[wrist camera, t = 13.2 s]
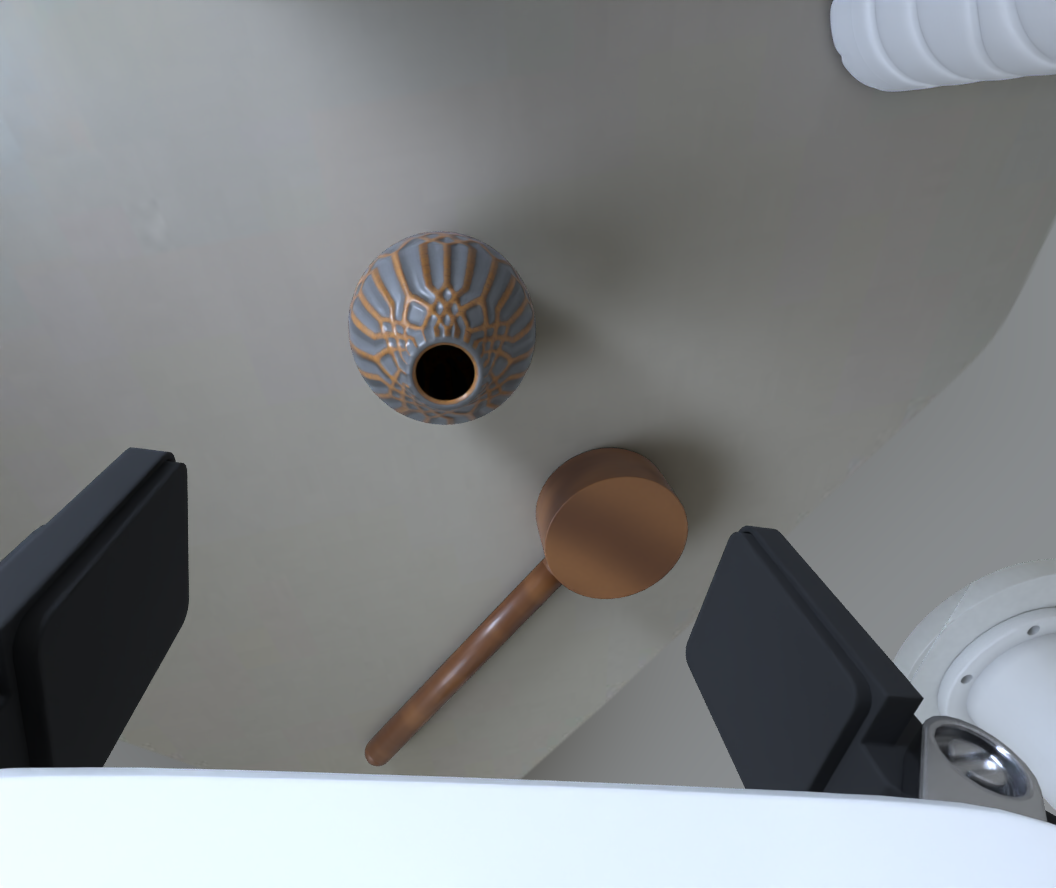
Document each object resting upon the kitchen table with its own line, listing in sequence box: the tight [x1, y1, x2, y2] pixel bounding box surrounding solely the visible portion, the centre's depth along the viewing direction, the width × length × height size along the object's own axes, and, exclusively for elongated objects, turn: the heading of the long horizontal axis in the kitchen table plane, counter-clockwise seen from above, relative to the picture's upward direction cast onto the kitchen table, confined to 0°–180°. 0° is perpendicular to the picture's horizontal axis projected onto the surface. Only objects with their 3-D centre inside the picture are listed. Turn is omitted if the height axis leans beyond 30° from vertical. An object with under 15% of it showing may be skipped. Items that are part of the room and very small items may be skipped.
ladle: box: [365, 448, 688, 766], centre depth 33 cm, size 24×7×3 cm, turn 140°
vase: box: [348, 231, 536, 425], centre depth 23 cm, size 7×7×9 cm
